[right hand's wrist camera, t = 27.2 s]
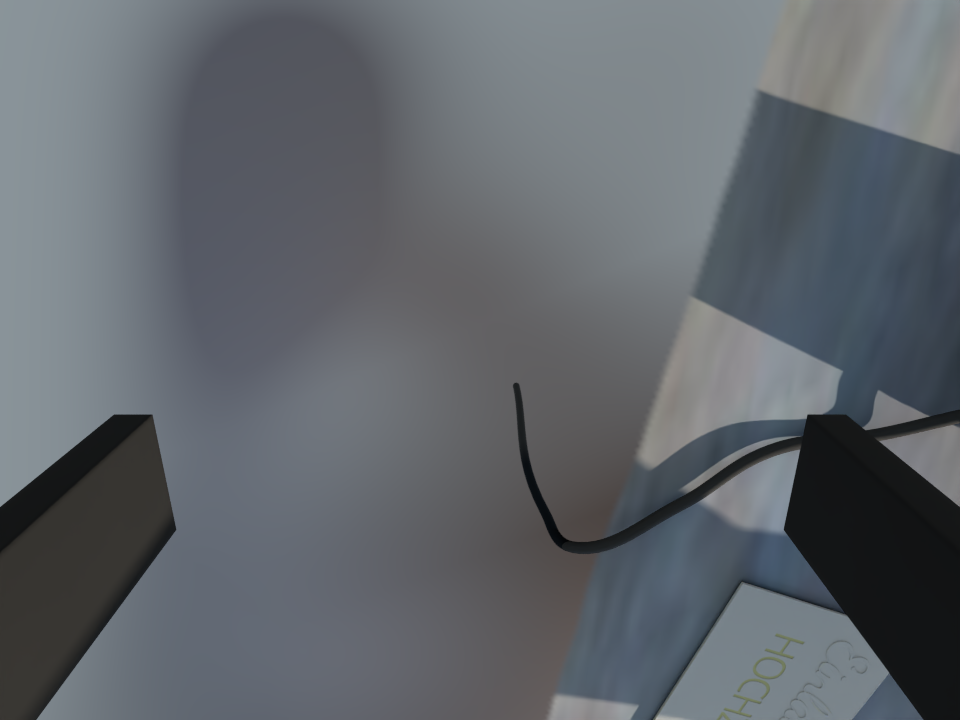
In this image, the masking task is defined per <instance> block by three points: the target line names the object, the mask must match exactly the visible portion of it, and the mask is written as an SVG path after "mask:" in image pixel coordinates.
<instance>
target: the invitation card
mask: <svg viewBox="0 0 960 720" xmlns="http://www.w3.org/2000/svg"><path fill="white" fill-rule="evenodd" d="M888 674H889V672H888V671H887V669H886V668H885V666H884V665H883V664H882V662H881V661H880V660H879V658H878V657H877V656H876V654H875V653H874V652H873V650H872V649H871V647H870V646H869V645H868V643H867V642H866V641H865V639H864V638H863V637H862V635H861V634H860V633H859V631H858V630H857V628H856V627H855V626H854V624H853V623H852V622H851V620H850V619H849V618H848V616H847V615H846V614H842V613H839V612H836V611H833V610H830V609H827V608H823V607H820V606H817V605H814V604H811V603H808V602H804V601H801V600H798V599H795V598H792V597H789V596H785V595H782V594H779V593H776V592H773V591H770V590H766V589H763V588H760V587H757V586H754V585H751V584H747V583H744V582H741V584H740V585H739V587H738V588H737V590H736V592H735V593H734V595H733V596H732V598H731V599H730V601H729V602H728V604H727V606H726V607H725V609H724V610H723V612H722V613H721V615H720V616H719V618H718V620H717V621H716V623H715V624H714V626H713V627H712V629H711V630H710V632H709V633H708V635H707V637H706V638H705V640H704V641H703V643H702V644H701V646H700V647H699V649H698V651H697V652H696V654H695V655H694V657H693V658H692V660H691V661H690V663H689V665H688V666H687V668H686V669H685V671H684V672H683V674H682V675H681V677H680V678H679V680H678V682H677V683H676V685H675V686H674V688H673V689H672V691H671V692H670V694H669V696H668V697H667V699H666V700H665V702H664V703H663V705H662V706H661V708H660V710H659V711H658V713H657V714H656V716H655V717H654V719H653V720H852V719H853V718H854V717H855V715H856V714H857V713H858V712H859V710H860V709H861V708H862V707H863V705H864V704H865V703H866V702H867V700H868V699H869V698H870V697H871V695H872V694H873V693H874V692H875V690H876V689H877V688H878V687H879V685H880V684H881V683H882V682H883V680H884V679H885V678H886V677H887V675H888Z"/></svg>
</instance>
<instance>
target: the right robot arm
mask: <svg viewBox="0 0 960 720" xmlns="http://www.w3.org/2000/svg"><path fill="white" fill-rule="evenodd" d="M513 389H514V395H515V403H516V414H517V429H518V441H519V450H520V456H521V462H522V466H523V471H524V474H525V478H526V481H527V484H528V487H529V489H530V492H531V494H532V497H533V499H534V502H535V504H536V506H537V508H538V510H539V512H540V514H541V516H542V518H543V520H544V523H545V526H546V528H547V531H548V533H549V535H550V537H551V539H552V540H553V541H554V543H555V544H556V545H557V546H558V547H560V548H561V549H563V550H565V551H568V552H572V553H578V554H591V553H599V552H603V551H607V550H610V549H613V548H616V547H618V546H620V545H622V544H625V543H627V542H629V541H630V540H632V539H634V538H636V537H638V536H639V535H641V534H643V533H644V532H646V531H648V530H649V529H651V528H653V527H654V526H656V525H658V524H659V523H661V522H663V521H664V520H666V519H668V518H669V517H671V516H673V515H675V514H677V513H679V512H680V511H682V510H684V509H686V508H688V507H690V506H692V505H693V504H695V503H697V502H698V501H700V500H702V499H703V498H705V497H706V496H708V495H709V494H711V493H712V492H714V491H715V490H716V489H718V488H719V487H721V486H722V485H723V484H725V483H726V482H728V481H729V480H730V479H732V478H733V477H735V476H736V475H738V474H739V473H741V472H742V471H744V470H746V469H748V468H749V467H751V466H753V465H755V464H757V463H759V462H761V461H763V460H766V459H768V458H771V457H773V456H776V455H779V454H782V453H786V452H790V451H794V450H799V449H800V454H799V459H798V464H797V468H796V473H795V478H794V483H793V488H792V492H791V497H790V502H789V507H788V512H787V517H786V521H785V526H784V531H785V532H786V533H787V535H788V536H789V538H790V539H791V540H792V542H793V543H794V544H795V546H796V547H797V548H798V550H799V551H800V552H801V554H802V555H803V557H804V558H805V559H806V561H807V562H808V563H809V565H810V566H811V567H812V569H813V570H814V571H815V573H816V574H817V576H818V577H819V578H820V580H821V581H822V582H823V584H824V585H825V586H826V588H827V589H828V590H829V592H830V593H831V595H832V596H833V597H834V599H835V600H836V601H837V603H838V604H839V605H840V607H841V608H842V609H843V611H844V612H845V614H846V615H847V616H848V618H849V619H850V620H851V622H852V623H853V624H854V626H855V627H856V628H857V630H858V631H859V633H860V634H861V635H862V637H863V638H864V639H865V641H866V642H867V643H868V645H869V646H870V647H871V649H872V650H873V652H874V653H875V654H876V656H877V657H878V658H879V660H880V661H881V662H882V664H883V665H884V666H885V668H886V669H887V671H888V672H889V673H890V675H891V676H892V677H893V679H894V680H895V681H896V683H897V684H898V685H899V687H900V688H901V690H902V691H903V692H904V694H905V695H906V696H907V698H908V699H909V700H910V702H911V703H912V704H913V706H914V707H915V709H916V710H917V711H918V713H919V714H920V715H921V717H922V718H923V719H924V720H960V507H959V506H958V505H957V504H955V503H954V502H953V501H952V500H950V499H949V498H948V497H947V496H945V495H944V494H943V493H942V492H941V491H939V490H938V489H937V488H936V487H934V486H933V485H932V484H931V483H929V482H928V481H927V480H926V479H925V478H923V477H922V476H921V475H920V474H918V473H917V472H916V471H915V470H913V469H912V468H911V467H910V466H909V465H907V464H906V463H905V462H904V461H902V460H901V459H900V458H899V457H897V456H896V455H895V454H894V453H892V452H891V451H890V450H889V449H888V448H886V447H885V446H884V445H883V444H881V443H880V442H879V441H881V440H887V439H892V438H897V437H901V436H906V435H910V434H914V433H919V432H923V431H927V430H931V429H936V428H940V427H944V426H949V425H953V424H958V423H960V410H956V411H951V412H947V413H943V414H939V415H935V416H930V417H926V418H922V419H918V420H914V421H910V422H906V423H901V424H897V425H892V426H888V427H883V428H878V429H872V430H864V429H863V428H862V427H860V426H859V425H858V424H857V423H856V422H854V421H853V420H852V419H851V418H849V417H848V416H847V415H807V420H806V425H805V430H804V435H803V436H801V437H796V438H791V439H786V440H783V441H779V442H776V443H773V444H770V445H767V446H764V447H762V448H759V449H757V450H755V451H753V452H751V453H749V454H747V455H745V456H743V457H741V458H740V459H738V460H736V461H735V462H733V463H732V464H730V465H728V466H727V467H726V468H724V469H723V470H721V471H720V472H718V473H717V474H716V475H714V476H713V477H712V478H710V479H709V480H707V481H706V482H705V483H703V484H702V485H700V486H699V487H697V488H696V489H694V490H693V491H691V492H689V493H688V494H686V495H684V496H682V497H681V498H679V499H677V500H675V501H673V502H671V503H669V504H667V505H666V506H664V507H662V508H660V509H659V510H657V511H655V512H654V513H652V514H650V515H649V516H647V517H646V518H644V519H642V520H641V521H639V522H637V523H636V524H634V525H632V526H630V527H629V528H627V529H625V530H623V531H621V532H619V533H617V534H615V535H613V536H610V537H607V538H604V539H601V540H597V541H591V542H573V541H570V540H568V539H566V538H564V537H563V536H562V535H561V533H560V532H559V530H558V528H557V526H556V524H555V521H554V519H553V516H552V514H551V512H550V510H549V509H548V507H547V505H546V503H545V501H544V499H543V497H542V494H541V492H540V490H539V487H538V485H537V482H536V479H535V476H534V473H533V470H532V466H531V462H530V458H529V453H528V447H527V440H526V431H525V420H524V409H523V401H522V395H521V390H520V385H519V383H514V384H513ZM175 531H176V526H175V521H174V517H173V512H172V507H171V502H170V497H169V493H168V488H167V483H166V478H165V473H164V468H163V464H162V459H161V454H160V449H159V444H158V440H157V435H156V430H155V425H154V420H153V415H113V416H112V417H111V418H109V419H108V420H107V421H106V422H104V423H103V424H102V425H101V426H100V427H98V428H97V429H96V430H95V431H93V432H92V433H91V434H90V435H88V436H87V437H86V438H85V439H84V440H82V441H81V442H80V443H79V444H77V445H76V446H75V447H74V448H72V449H71V450H70V451H69V452H68V453H66V454H65V455H64V456H63V457H61V458H60V459H59V460H58V461H56V462H55V463H54V464H53V465H52V466H50V467H49V468H48V469H47V470H45V471H44V472H43V473H42V474H40V475H39V476H38V477H37V478H35V479H34V480H33V481H32V482H31V483H29V484H28V485H27V486H26V487H24V488H23V489H22V490H21V491H20V492H18V493H17V494H16V495H15V496H13V497H12V498H11V499H10V500H8V501H7V502H6V503H5V504H3V505H2V506H1V507H0V720H36V719H37V718H38V717H39V715H40V714H41V713H42V711H43V710H44V709H45V707H46V706H47V704H48V703H49V702H50V700H51V699H52V698H53V696H54V695H55V694H56V692H57V691H58V690H59V688H60V687H61V685H62V684H63V683H64V681H65V680H66V679H67V677H68V676H69V675H70V673H71V672H72V671H73V669H74V668H75V666H76V665H77V664H78V662H79V661H80V660H81V658H82V657H83V656H84V654H85V653H86V652H87V650H88V649H89V647H90V646H91V645H92V643H93V642H94V641H95V639H96V638H97V637H98V635H99V634H100V632H101V631H102V630H103V628H104V627H105V626H106V624H107V623H108V622H109V620H110V619H111V618H112V616H113V615H114V614H115V612H116V611H117V609H118V608H119V607H120V605H121V604H122V603H123V601H124V600H125V599H126V597H127V596H128V594H129V593H130V592H131V590H132V589H133V588H134V586H135V585H136V584H137V582H138V581H139V580H140V578H141V577H142V575H143V574H144V573H145V571H146V570H147V569H148V567H149V566H150V565H151V563H152V562H153V561H154V559H155V558H156V557H157V555H158V554H159V552H160V551H161V550H162V548H163V547H164V546H165V544H166V543H167V542H168V540H169V539H170V538H171V536H172V535H173V533H174V532H175Z"/></svg>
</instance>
